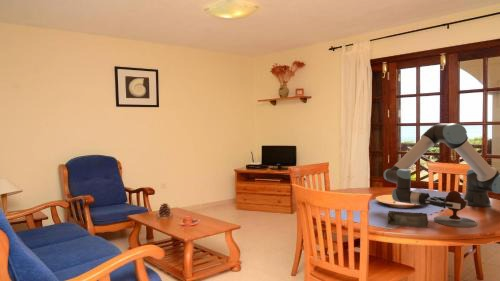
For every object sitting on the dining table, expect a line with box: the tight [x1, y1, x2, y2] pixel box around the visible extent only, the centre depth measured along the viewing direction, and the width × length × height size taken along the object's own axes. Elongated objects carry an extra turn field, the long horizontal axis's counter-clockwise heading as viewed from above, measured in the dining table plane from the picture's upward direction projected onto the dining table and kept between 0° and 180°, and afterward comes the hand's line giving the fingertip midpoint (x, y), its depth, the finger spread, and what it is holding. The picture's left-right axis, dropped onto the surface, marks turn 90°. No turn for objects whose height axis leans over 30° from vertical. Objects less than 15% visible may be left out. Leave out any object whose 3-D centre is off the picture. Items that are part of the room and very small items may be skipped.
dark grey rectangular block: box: [387, 210, 429, 229], centre depth 191 cm, size 8×19×7 cm, turn 66°
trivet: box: [433, 215, 478, 228], centre depth 195 cm, size 20×20×1 cm
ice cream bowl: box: [444, 190, 467, 220], centre depth 195 cm, size 11×11×15 cm
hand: (463, 204), depth 192 cm, fingers closed on ice cream bowl, 11 cm apart
